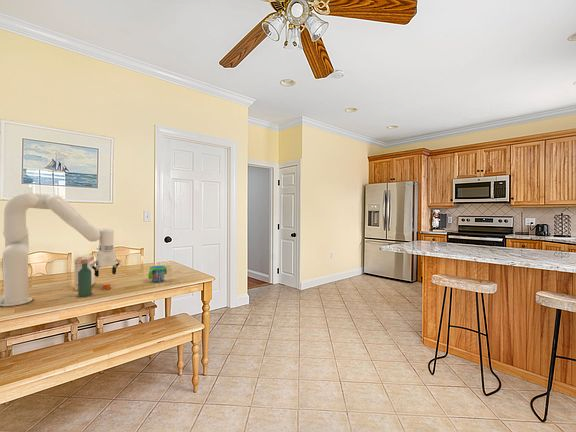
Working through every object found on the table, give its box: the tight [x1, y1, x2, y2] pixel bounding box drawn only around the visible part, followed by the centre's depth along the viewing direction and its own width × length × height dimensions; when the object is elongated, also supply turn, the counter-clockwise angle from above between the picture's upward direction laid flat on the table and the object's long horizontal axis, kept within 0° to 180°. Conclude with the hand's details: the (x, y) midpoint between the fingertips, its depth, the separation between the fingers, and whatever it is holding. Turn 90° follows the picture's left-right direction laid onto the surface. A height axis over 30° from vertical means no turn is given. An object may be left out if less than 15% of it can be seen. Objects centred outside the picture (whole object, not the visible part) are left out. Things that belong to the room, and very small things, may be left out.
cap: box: [102, 283, 111, 291], centre depth 178 cm, size 4×4×3 cm
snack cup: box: [147, 265, 168, 283], centre depth 198 cm, size 16×10×10 cm
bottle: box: [77, 263, 93, 298], centre depth 165 cm, size 6×6×19 cm
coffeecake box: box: [74, 254, 95, 291], centre depth 182 cm, size 15×7×20 cm, turn 21°
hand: (105, 275), depth 177 cm, fingers open, 9 cm apart
